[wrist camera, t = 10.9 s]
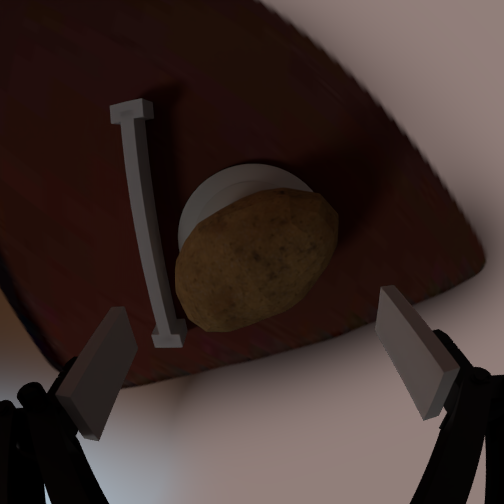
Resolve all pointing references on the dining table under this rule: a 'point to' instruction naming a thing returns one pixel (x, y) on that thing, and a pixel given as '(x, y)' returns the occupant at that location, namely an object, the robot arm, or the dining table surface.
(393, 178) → the dining table surface
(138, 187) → the rail
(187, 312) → the potato
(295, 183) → the plate
